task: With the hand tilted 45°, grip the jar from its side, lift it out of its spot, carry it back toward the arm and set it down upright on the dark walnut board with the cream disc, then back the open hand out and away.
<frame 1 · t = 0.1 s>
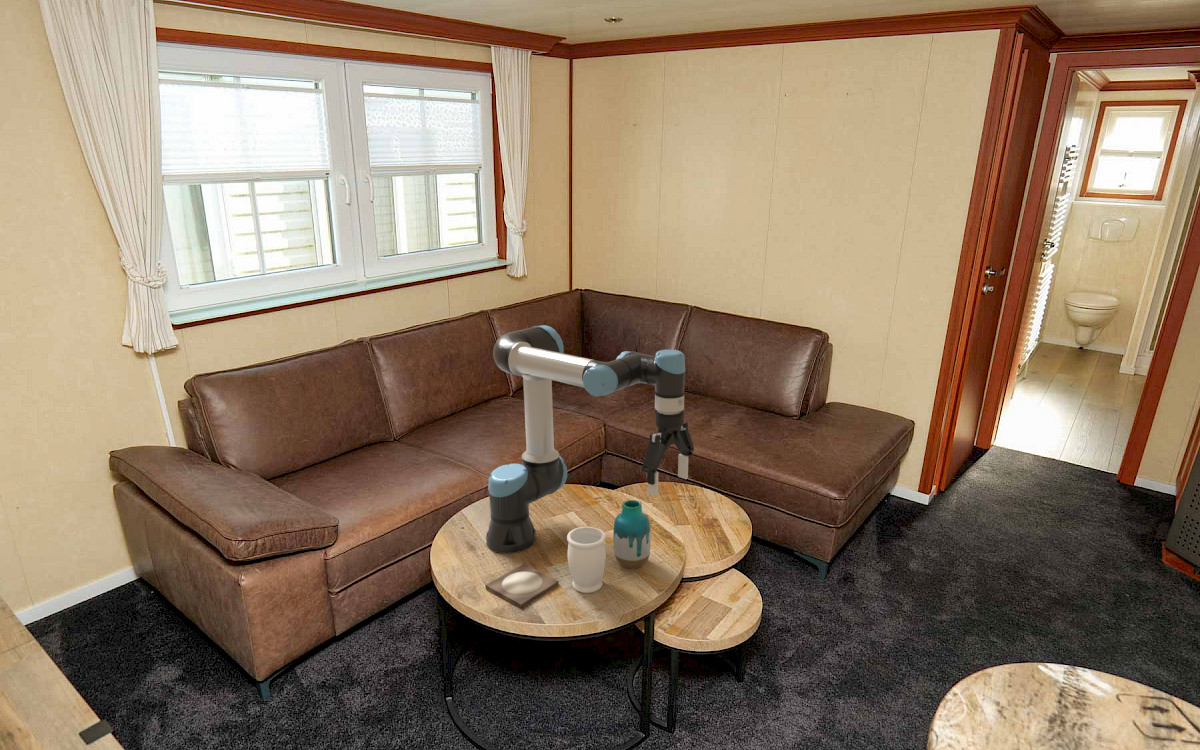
hand: (668, 486, 183), 28 cm above the table, tool pointing down, fingers open, 13 cm apart
walnut board: (522, 586, 188), on the table
jar: (587, 585, 189), on the table
vase: (632, 564, 198), on the table
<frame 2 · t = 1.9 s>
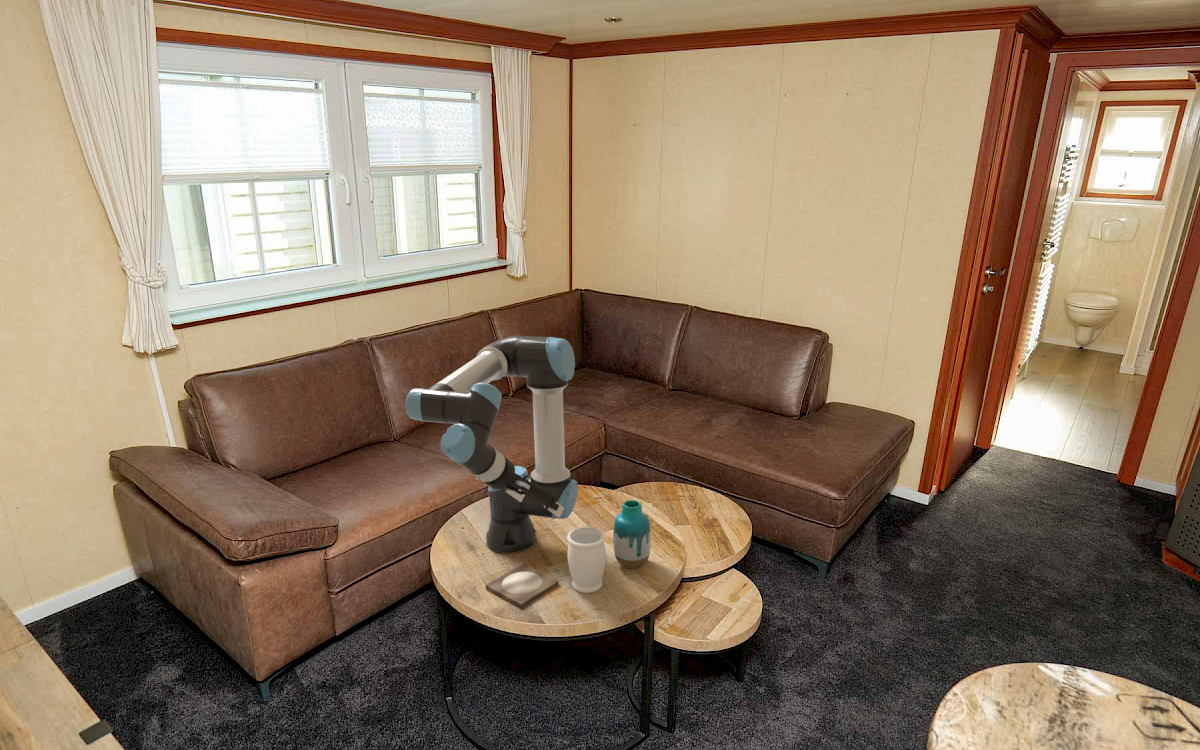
hand: (541, 504, 174), 28 cm above the table, tool tilted 45°, fingers open, 13 cm apart
nothing on the table moved.
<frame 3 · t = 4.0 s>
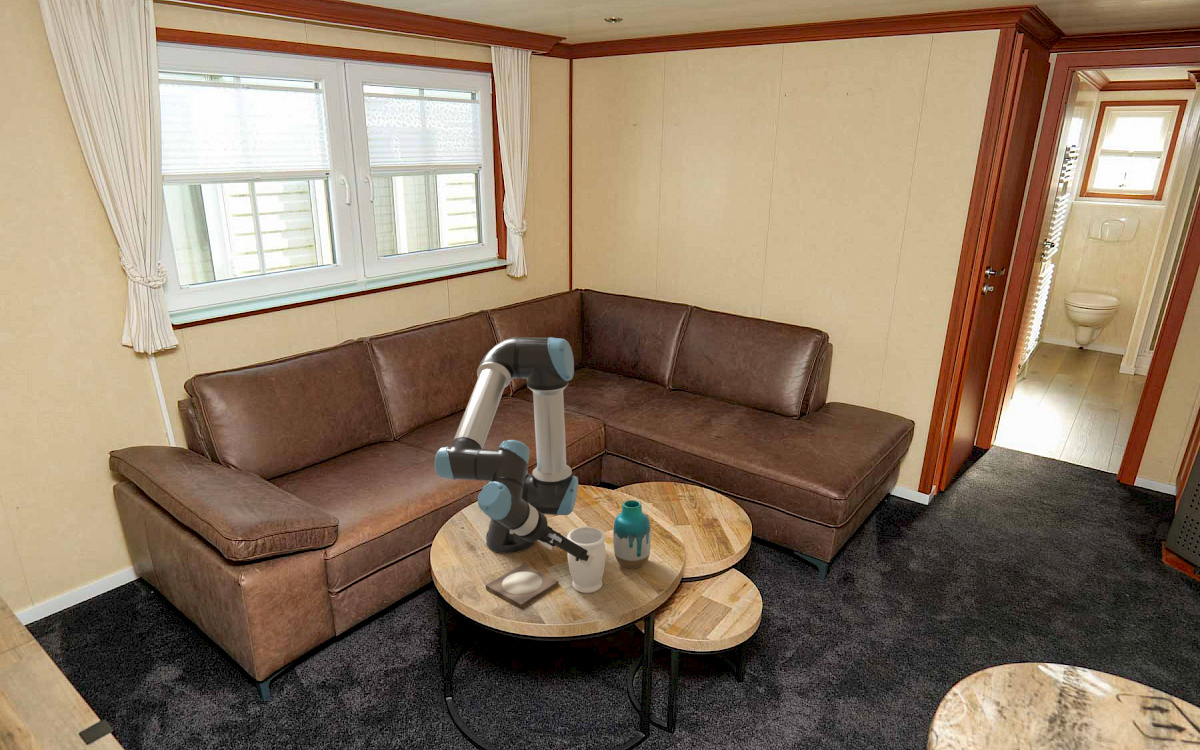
hand: (571, 553, 180), 13 cm above the table, tool tilted 45°, fingers open, 13 cm apart
nothing on the table moved.
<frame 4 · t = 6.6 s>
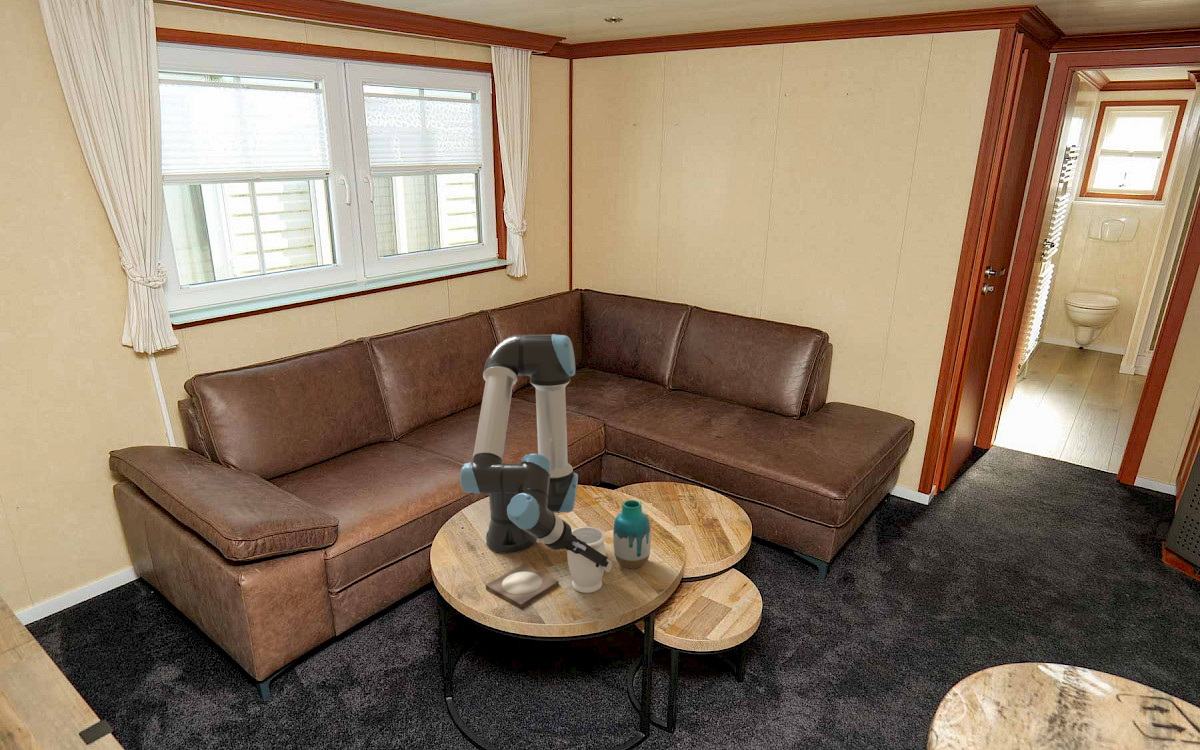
hand: (594, 560, 189), 6 cm above the table, tool tilted 45°, fingers closed on jar, 10 cm apart
jar: (587, 585, 189), on the table, touching gripper
everything else where it was.
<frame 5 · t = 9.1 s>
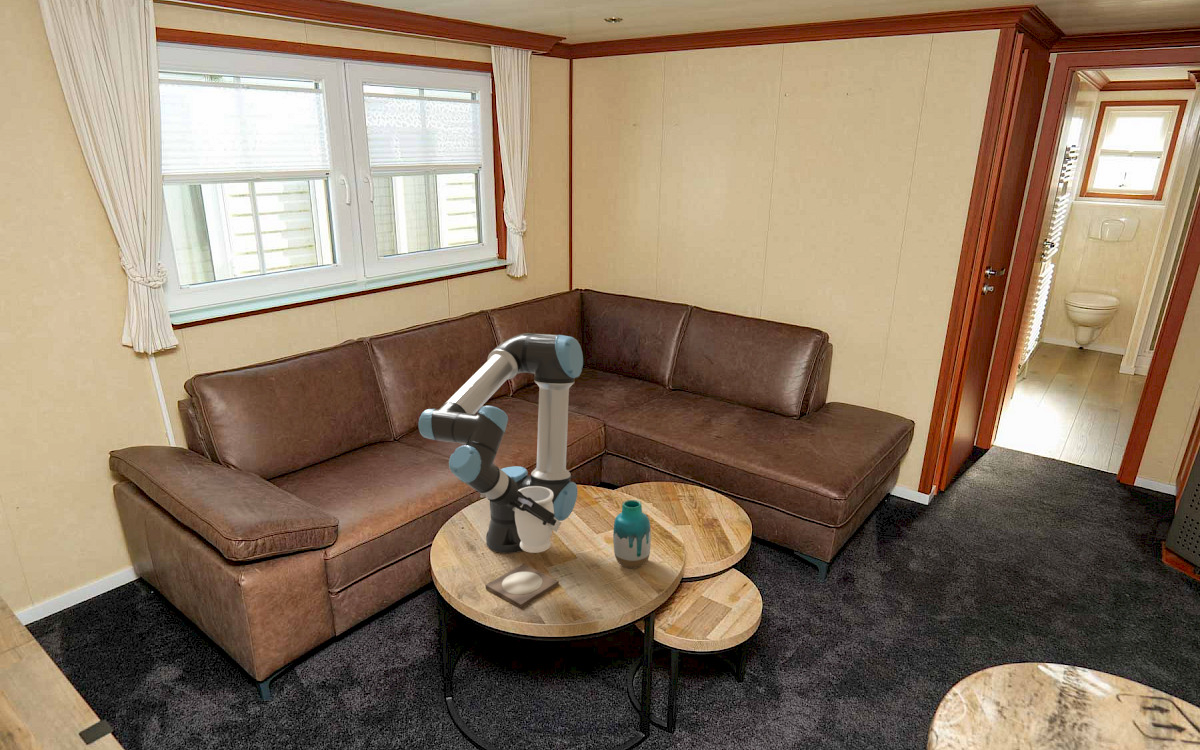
hand: (542, 520, 185), 19 cm above the table, tool tilted 45°, fingers closed on jar, 10 cm apart
jar: (535, 546, 184), point 12 cm above the table, touching gripper
everything else where it was.
when the fingers open (9 cm above the table, at t = 11.9 s): jar drops 1 cm, resting on walnut board.
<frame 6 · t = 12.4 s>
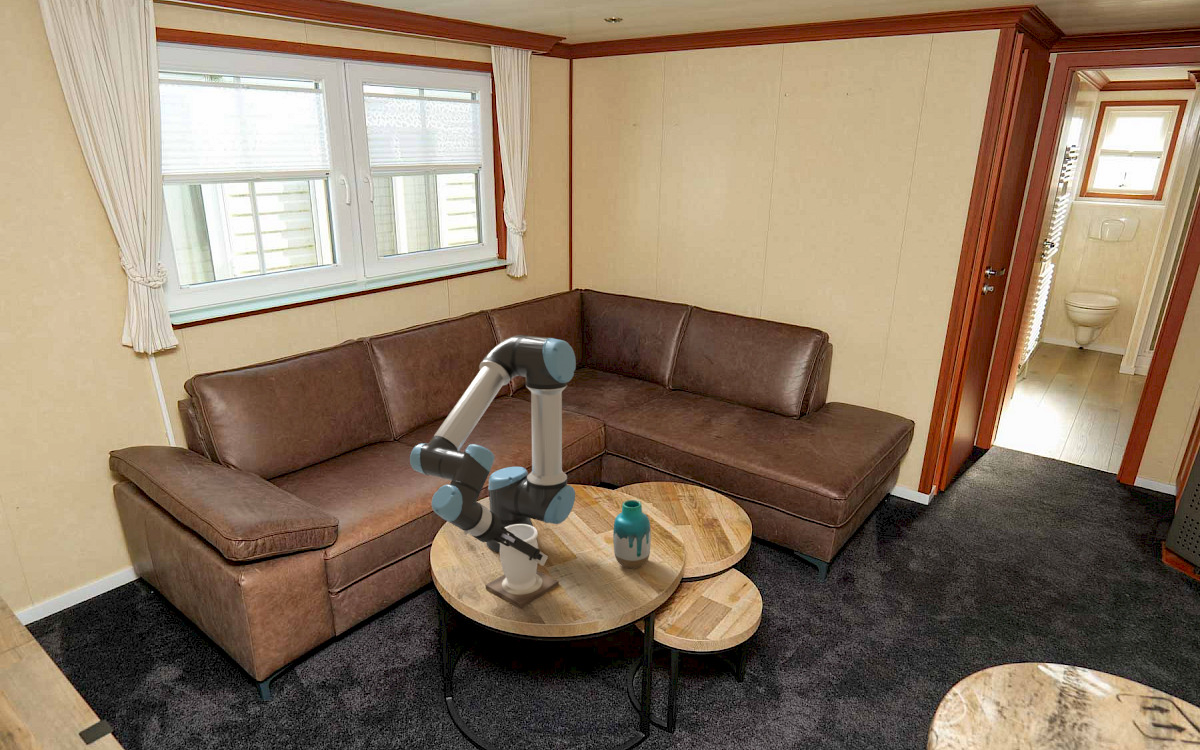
hand: (527, 552, 187), 9 cm above the table, tool tilted 45°, fingers open, 13 cm apart
jar: (520, 582, 188), point 1 cm above the table, touching walnut board
everything else where it was.
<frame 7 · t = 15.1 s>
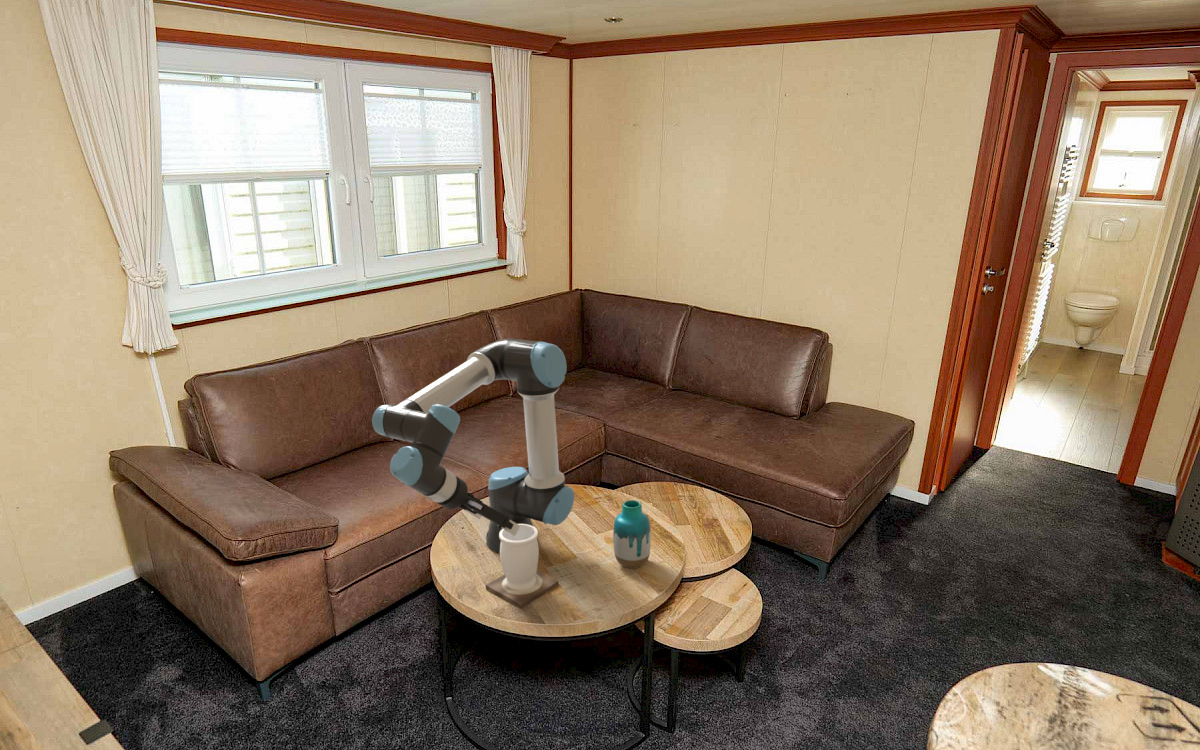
hand: (498, 522, 176), 23 cm above the table, tool tilted 45°, fingers open, 13 cm apart
nothing on the table moved.
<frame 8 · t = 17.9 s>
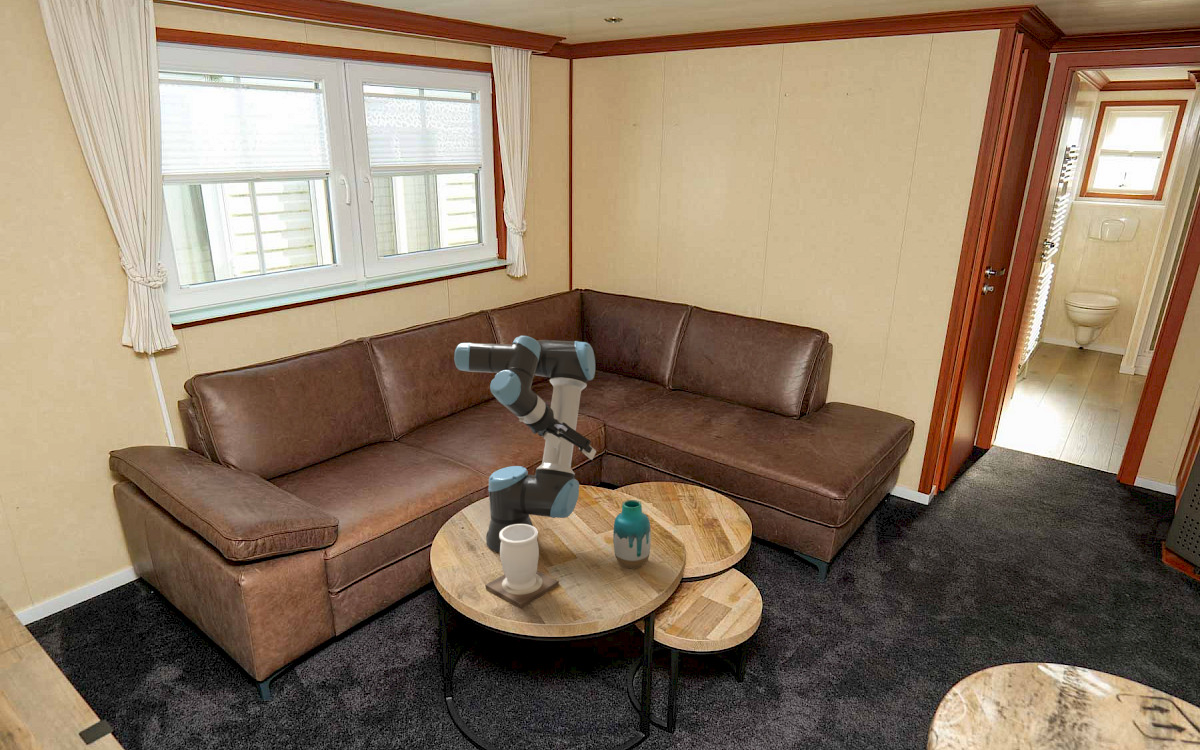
hand: (575, 449, 194), 34 cm above the table, tool tilted 45°, fingers open, 13 cm apart
nothing on the table moved.
at the end: jar inside the target area on the walnut board (0.4 cm from its centre), point 1.1 cm above the walnut board's base; jar tilted 0°; the gripper is holding nothing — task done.
